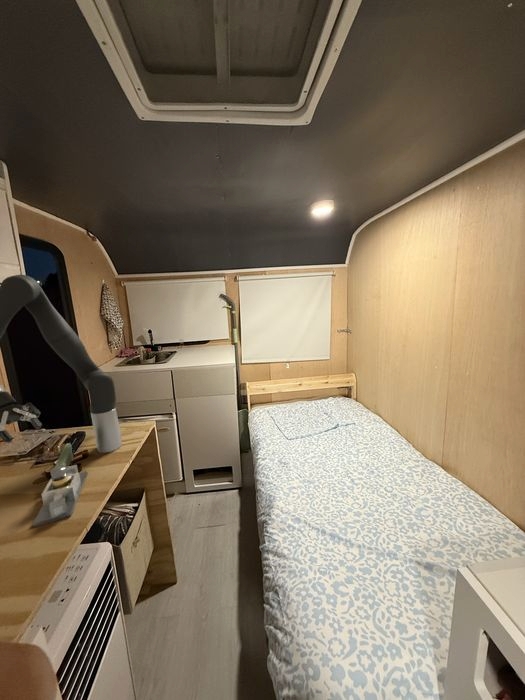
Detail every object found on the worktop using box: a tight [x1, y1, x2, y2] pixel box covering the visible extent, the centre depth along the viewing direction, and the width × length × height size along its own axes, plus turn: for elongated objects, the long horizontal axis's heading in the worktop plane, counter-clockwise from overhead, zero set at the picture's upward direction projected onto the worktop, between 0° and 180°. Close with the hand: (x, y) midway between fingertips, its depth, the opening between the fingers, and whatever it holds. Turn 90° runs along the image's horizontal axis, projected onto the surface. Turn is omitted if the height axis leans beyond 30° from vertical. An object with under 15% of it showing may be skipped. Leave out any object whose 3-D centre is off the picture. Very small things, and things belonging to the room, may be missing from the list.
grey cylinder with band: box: [50, 465, 70, 490], centre depth 89 cm, size 4×4×9 cm
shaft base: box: [32, 464, 89, 528], centre depth 89 cm, size 22×9×5 cm, turn 21°
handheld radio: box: [54, 442, 74, 467], centre depth 105 cm, size 7×3×25 cm
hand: (25, 434), depth 91 cm, fingers open, 8 cm apart
